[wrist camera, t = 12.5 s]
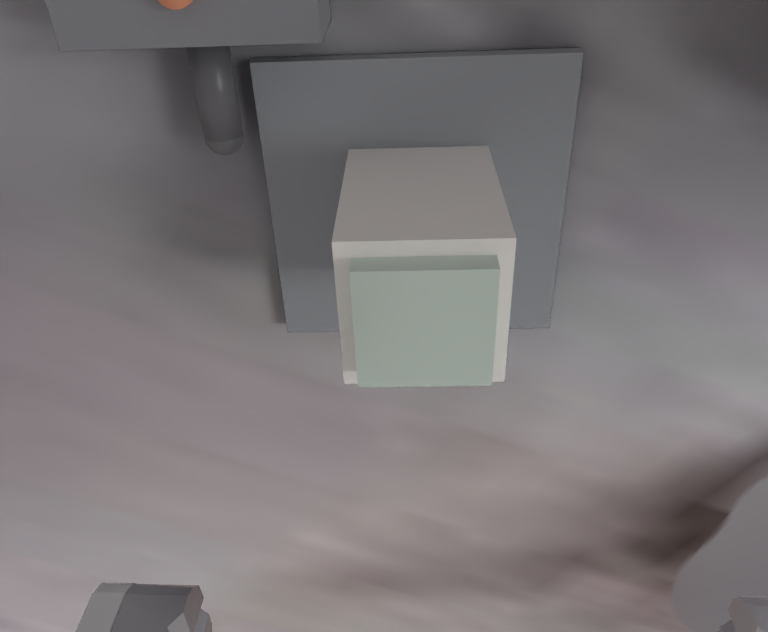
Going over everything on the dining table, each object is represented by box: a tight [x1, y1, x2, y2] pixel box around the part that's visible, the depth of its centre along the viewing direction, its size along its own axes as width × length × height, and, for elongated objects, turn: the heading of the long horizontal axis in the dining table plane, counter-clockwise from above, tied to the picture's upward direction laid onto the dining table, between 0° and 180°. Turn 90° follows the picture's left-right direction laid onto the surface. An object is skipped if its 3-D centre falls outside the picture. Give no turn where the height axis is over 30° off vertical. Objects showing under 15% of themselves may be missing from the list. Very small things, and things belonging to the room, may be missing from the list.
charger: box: [332, 146, 517, 387], centre depth 20 cm, size 4×4×7 cm
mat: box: [250, 48, 584, 332], centre depth 23 cm, size 10×10×1 cm
